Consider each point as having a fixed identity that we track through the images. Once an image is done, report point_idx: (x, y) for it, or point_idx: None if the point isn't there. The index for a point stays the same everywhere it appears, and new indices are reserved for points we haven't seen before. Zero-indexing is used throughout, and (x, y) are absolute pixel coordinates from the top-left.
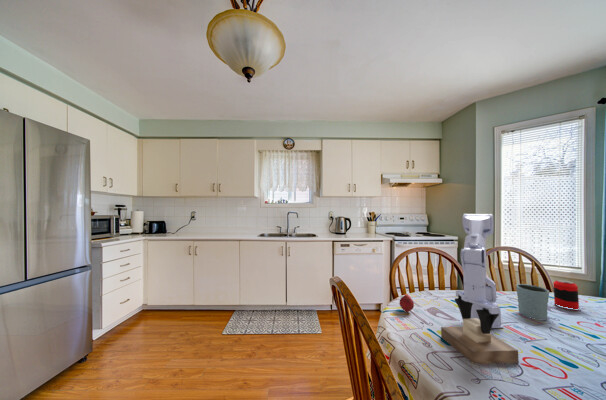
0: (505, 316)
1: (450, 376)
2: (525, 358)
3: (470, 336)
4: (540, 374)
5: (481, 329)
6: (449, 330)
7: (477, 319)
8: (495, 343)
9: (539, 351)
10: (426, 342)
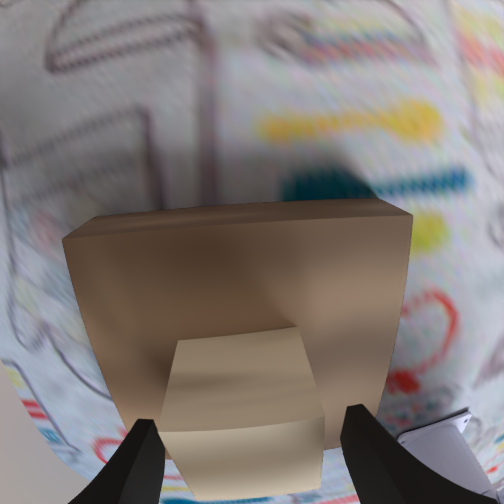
0: None
1: (14, 44)
2: None
3: (230, 344)
4: (93, 422)
5: (142, 435)
6: (359, 252)
7: (296, 487)
8: None
9: None
10: (316, 48)
